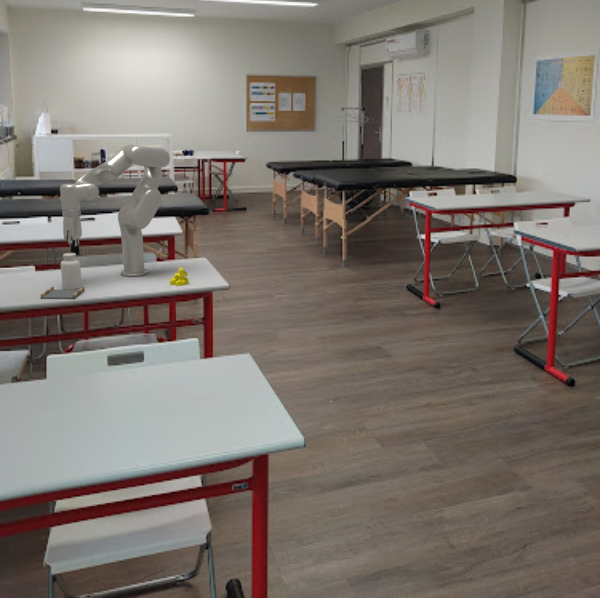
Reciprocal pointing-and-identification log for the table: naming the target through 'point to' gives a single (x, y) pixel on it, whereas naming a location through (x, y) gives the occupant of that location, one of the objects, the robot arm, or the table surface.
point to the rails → (53, 289)
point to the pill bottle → (71, 272)
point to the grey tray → (61, 294)
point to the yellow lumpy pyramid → (179, 278)
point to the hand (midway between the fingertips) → (75, 254)
